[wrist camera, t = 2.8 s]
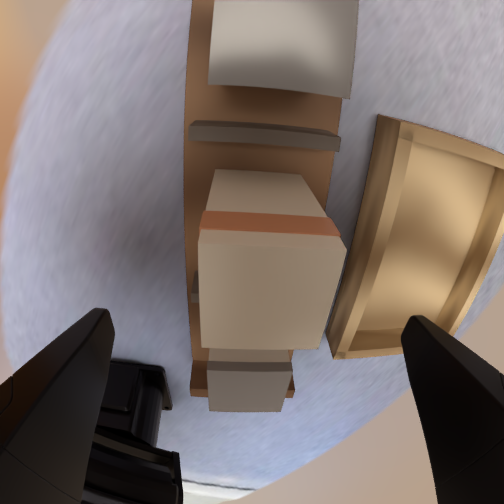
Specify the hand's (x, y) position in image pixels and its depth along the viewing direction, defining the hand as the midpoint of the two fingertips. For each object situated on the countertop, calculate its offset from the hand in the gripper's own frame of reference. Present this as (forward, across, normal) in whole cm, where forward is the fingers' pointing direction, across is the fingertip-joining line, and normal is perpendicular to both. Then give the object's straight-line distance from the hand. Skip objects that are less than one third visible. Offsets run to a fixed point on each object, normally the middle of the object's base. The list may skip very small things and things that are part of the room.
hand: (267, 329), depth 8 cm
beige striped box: (+8, 0, 0) cm, 8 cm away
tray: (+9, -11, +2) cm, 14 cm away
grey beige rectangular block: (+8, 0, +8) cm, 11 cm away
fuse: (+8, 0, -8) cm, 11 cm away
